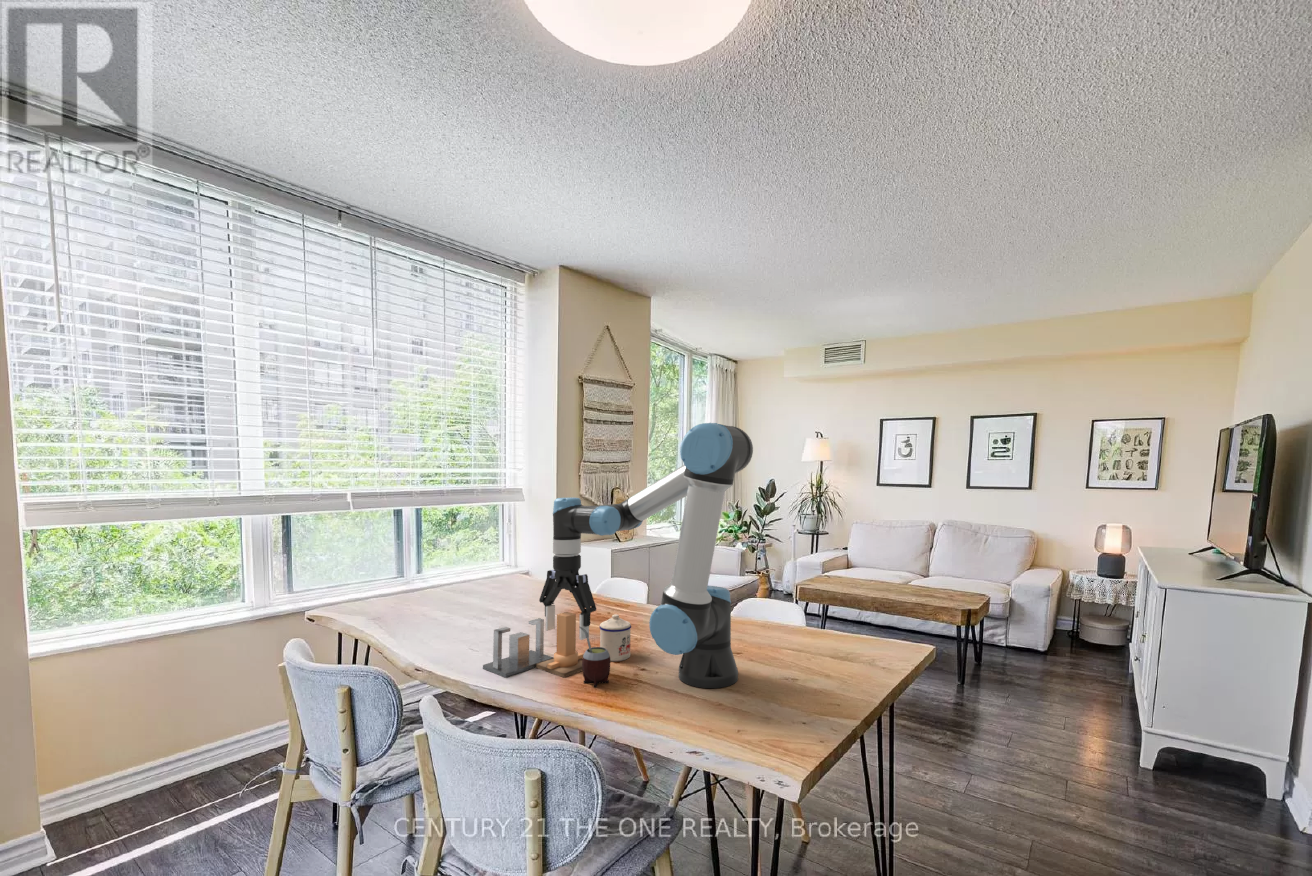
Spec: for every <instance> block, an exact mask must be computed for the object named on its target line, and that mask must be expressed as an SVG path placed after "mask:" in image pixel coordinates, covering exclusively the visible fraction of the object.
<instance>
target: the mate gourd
mask: <svg viewBox="0 0 1312 876" xmlns="http://www.w3.org/2000/svg"><path fill="white" fill-rule="evenodd" d="M579 628H580V629H582V630H583V631H584V633H585V636H586V642H587V646H588V648H587V649H585V651H584V653H583V654H584V655H583V659H582V670H583V671H582V676H583V679H584V680H583V684H593V688H597V687H598V685H599V684H609V683H610V680H609V676H610V674H611V673H610V672H611V662H612V661H611V660H610V654H609V652H608V651H607V649H605V648H603V647H600V646H594V647H592V645H591V642H590V634H589V635H588V633H587V632H586V630H585V629H583V628H582V627H580V626H579Z"/></svg>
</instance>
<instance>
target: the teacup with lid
mask: <svg viewBox="0 0 1312 876" xmlns="http://www.w3.org/2000/svg"><path fill="white" fill-rule="evenodd" d="M599 629H600V630H599V631H600V632H599V647H603V648H605V649H607V651H608V652H609V654H610V660H611V662H621V661H622V662H623V661H626V660H627V659H629V658H630V657H631V629H632V624H631V623H630V621H628V620H625V619H623V618H621V617H620V615H619V614H617V613H616V614H615V613H614V614H612V615H611V617H610V618H609V619H607V620H604V621H602V622H601V623H600V624H599Z"/></svg>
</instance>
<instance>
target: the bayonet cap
mask: <svg viewBox="0 0 1312 876" xmlns="http://www.w3.org/2000/svg"><path fill="white" fill-rule="evenodd" d="M576 622H577V614H576V613H574V612H569V611H564V612H561V613H557V614H556V652H554V654H553V657H554V662H552V663H549V664H547V668H549V669H554V668H556V667H571V666H575V665H577V664H578V660H579V659H582V658H583V655H584V653H582V652H578V651H576V650H577V649H576V644H577V643H576V639H577V638H576V636H577V633H576V632H577V630H576V629H577V623H576Z"/></svg>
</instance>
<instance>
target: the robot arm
mask: <svg viewBox="0 0 1312 876" xmlns="http://www.w3.org/2000/svg"><path fill="white" fill-rule="evenodd" d="M679 449H680V450H679V453H680V455H679V456H680V459H681V461H682V462H683V463H682V464H683V465H681V466H679V467H678V468H676V469H674V470H673V471H671V472H670V473H668V474H666V475H665V476H663V477H661V478H660V479H658V480H656V481H654V482H653V483H652V484H649V485H648V486H646V487H645V488H643V489H641V490H640V491H638V492H636V493H635V494H633V495H632V496H630V497H629V498H627V499H624V500H623V501H621V502H620V503H613V504H612V503H611V504H603V505H601V504H600V505H582V500H581V498H580V497H557V498H555V499H554V500H553V508H552V509H553V510H552V522H553V523H552V526H553V527H552V528H553V538H552V554H553V556H552V568H553V569H550V570H547V571H546V579H545V582H544V585H543V588H542V590H541V593H540V596H539V600H538V601H539V602H540V603H542V604H543V606H544V617H545V632H546V631H551V630H555V629H556V605H555V601H556V599H557V597H558V596H559V594H560V592H561V591H562V590H565V591H569V592H570V594H572V596H573V598H574V600H575V602H576V604H577V606H578V608H579V610H580V614H579V626H580V627H582V628H583V629H585V630H586V632H587V633H588V635H589V636H590V626H591V613H593V612H596V611H597V606H596V603H595V599H594V597H593V594H592V591H591V586H590V584H589V576H588V574H587V573H585V574H580V573H579V571H580V569H581V567H582V555H580V553H581V552H582V549H581V548H582V544H581V543H582V539H581V538H582V534H586V535H598V536H602V537H603V536H612V535H614V534H616V532H621V531H623V532H624V531H631V530H634V529H637V528H638V527H640V526H641V525H642V524H643V522H644V521H645V520H647V519H649V518H650V517H652V516H653V515H656V514H658V513H659V512H661V511H662V510H664V509H666V508H667V507H670V506H671V505H673V504H675V503H677V502H678V501H680V500H682V499H683V498H685V497H686V500H685V504H684V509H683V515H682V521H681V527H680V532H679V539H678V542H677V548H676V549H677V550H676V555H675V560H674V565H673V572H672V575H671V576H672V577H671V581H670V583H669V584H668V585H666V586H664V588H663V590H662V598H661V601H660V605H659V606H658V605H657V607H656V608H655V609H654V610H653V611H652V612H651V615H650V618H649V622H648V623H649V632H650V635H651V637H652V639H654V642H655V644H656V646H658V648H660V649H661V650H662V651H663V652H664V653H667V654H669V655H674V656H678V655H682V656H681V659H680V662H679V665H678V678H679V680H680V681H681V682H682V683H684V684H686V685H689V686H691V687H696V688H702V689H703V688H704V689H719V688H720V689H721V688H725V687H729V686H732V685H734V684H736V683H737V681H738V679H739V670H738V669H739V668H738V667H737V664H736V660H735V656H734V654H733V650H732V644H731V643H732V642H731V639H732V636H731V635H732V633H731V630H732V628H731V627H732V626H731V625H732V623H731V622H732V617H731V615H732V614H731V612H732V610H731V607H732V601H731V592H730V590H729V589H728V588H726V587H723V586H722V587H721V586H716V585H709V580H710V575H711V569H712V564H713V559H714V558H713V557H714V554H715V549H716V542H717V536H718V531H719V525H720V521H721V520H720V519H721V516H722V511H723V510H722V508H723V506H724V505H723V503H724V500H725V499H724V498H725V495H726V494H725V493H726V492H727V490H728V489H730V488H732V487H733V486H734V480H735V475H736V474H737V473H739V472H741V471H744V469H745V468H747V466H749V463H750V462H751V460H752V459H753V458H752V457H753V454H754V446H753V443H752V439H751V438H750V436H749V435H748V434H747V433H746V432H745V430H743V429H741V428H739V427H737V426H733V425H726V424H725V425H724V424H720V423H717V422H705V423H703V422H702V423H699V424H697V425H695V426H693V427H691V429H689V430H687V432H686V433H685V435H684V436H683V438H682V440H681V444H680V448H679ZM578 630H579V640H581V641H582V640H585V639H586V640H587V638H586V636H585V633H584V631H583V630H582V629H580V628H579V629H578Z"/></svg>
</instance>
